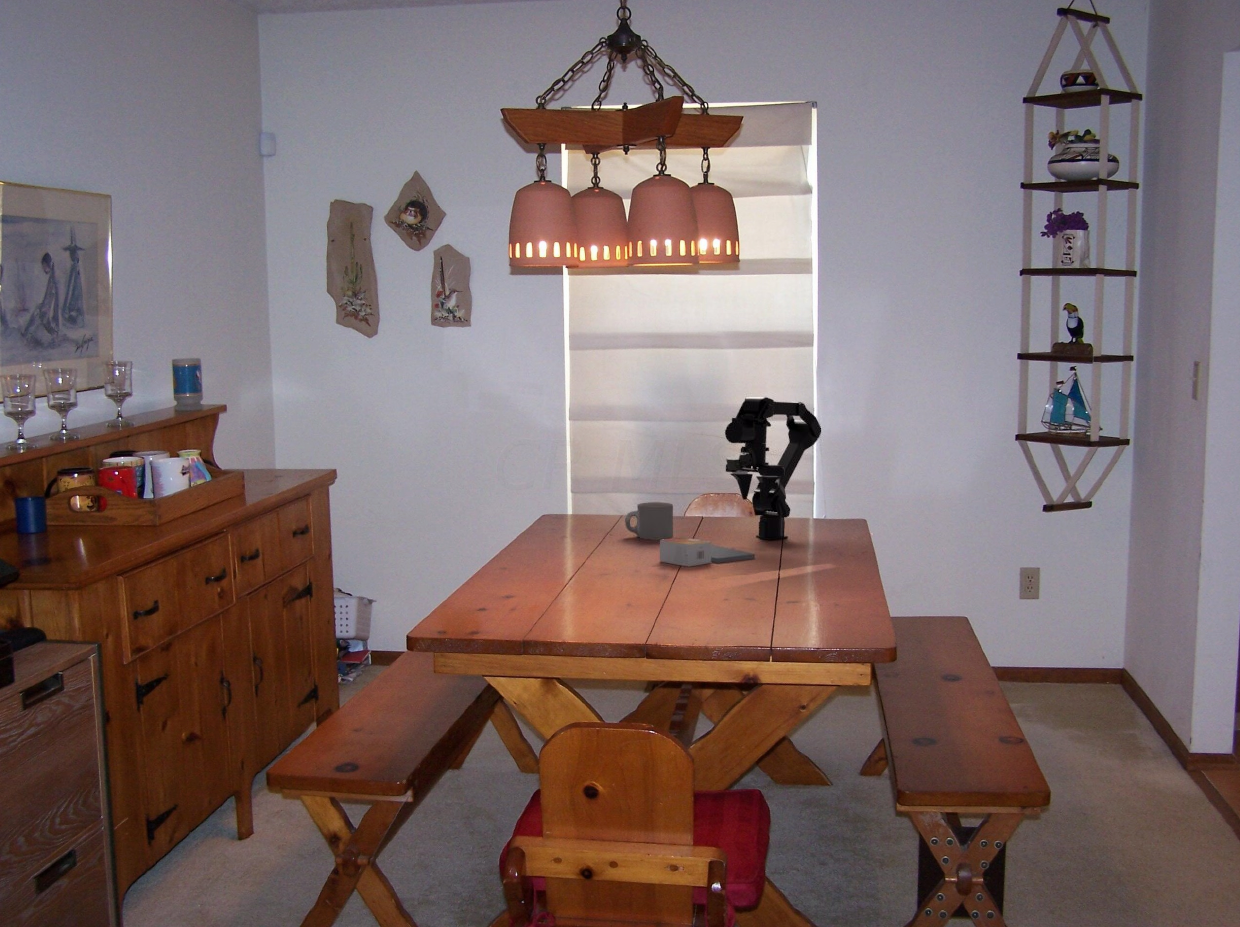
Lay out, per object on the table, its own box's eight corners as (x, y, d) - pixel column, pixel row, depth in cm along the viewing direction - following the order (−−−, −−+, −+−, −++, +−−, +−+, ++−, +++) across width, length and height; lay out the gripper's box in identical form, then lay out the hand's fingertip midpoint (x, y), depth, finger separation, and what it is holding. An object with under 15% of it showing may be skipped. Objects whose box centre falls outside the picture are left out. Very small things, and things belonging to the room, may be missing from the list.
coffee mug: (672, 537, 331) (672, 502, 330) (673, 542, 321) (673, 506, 320) (625, 537, 331) (625, 502, 330) (624, 542, 321) (624, 506, 320)
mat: (711, 549, 309) (711, 544, 309) (754, 558, 294) (754, 553, 294) (674, 553, 303) (674, 548, 302) (717, 563, 288) (717, 558, 287)
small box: (689, 544, 282) (658, 539, 289) (689, 567, 282) (658, 561, 290) (711, 540, 287) (681, 536, 295) (711, 563, 288) (681, 557, 295)
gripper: (711, 441, 318) (709, 498, 319) (754, 444, 302) (751, 504, 303) (743, 441, 324) (741, 497, 325) (786, 444, 308) (784, 503, 309)
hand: (753, 500), depth 315 cm, fingers open, 7 cm apart
